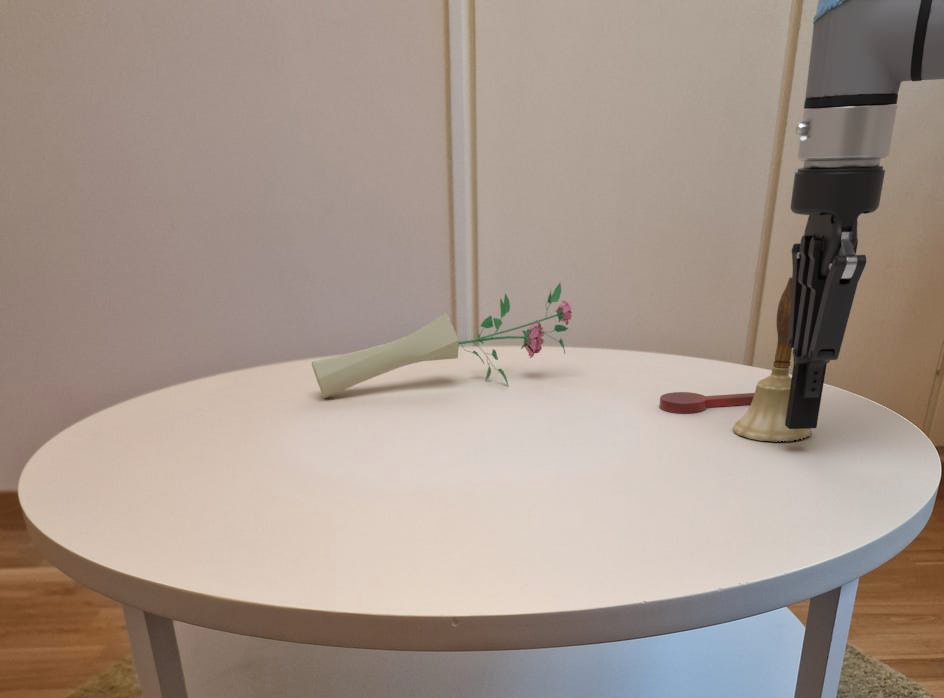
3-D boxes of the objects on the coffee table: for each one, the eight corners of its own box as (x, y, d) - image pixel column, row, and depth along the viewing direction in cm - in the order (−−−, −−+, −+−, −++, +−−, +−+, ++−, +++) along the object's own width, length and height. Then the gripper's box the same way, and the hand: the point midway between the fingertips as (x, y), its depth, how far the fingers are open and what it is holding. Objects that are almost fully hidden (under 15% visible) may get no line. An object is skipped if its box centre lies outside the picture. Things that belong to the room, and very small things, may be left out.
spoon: (799, 393, 112) (801, 384, 111) (821, 404, 107) (823, 394, 107) (653, 403, 110) (654, 393, 109) (668, 414, 105) (669, 404, 105)
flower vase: (338, 444, 124) (566, 366, 128) (343, 442, 112) (594, 356, 116) (308, 361, 121) (542, 283, 125) (310, 350, 109) (568, 265, 113)
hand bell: (750, 417, 103) (769, 271, 95) (821, 428, 98) (848, 275, 91) (720, 435, 97) (738, 280, 90) (795, 447, 93) (821, 285, 85)
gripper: (776, 164, 84) (746, 411, 96) (823, 167, 73) (782, 446, 84) (855, 161, 84) (816, 409, 95) (915, 163, 72) (862, 444, 84)
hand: (800, 426), depth 90 cm, fingers closed
